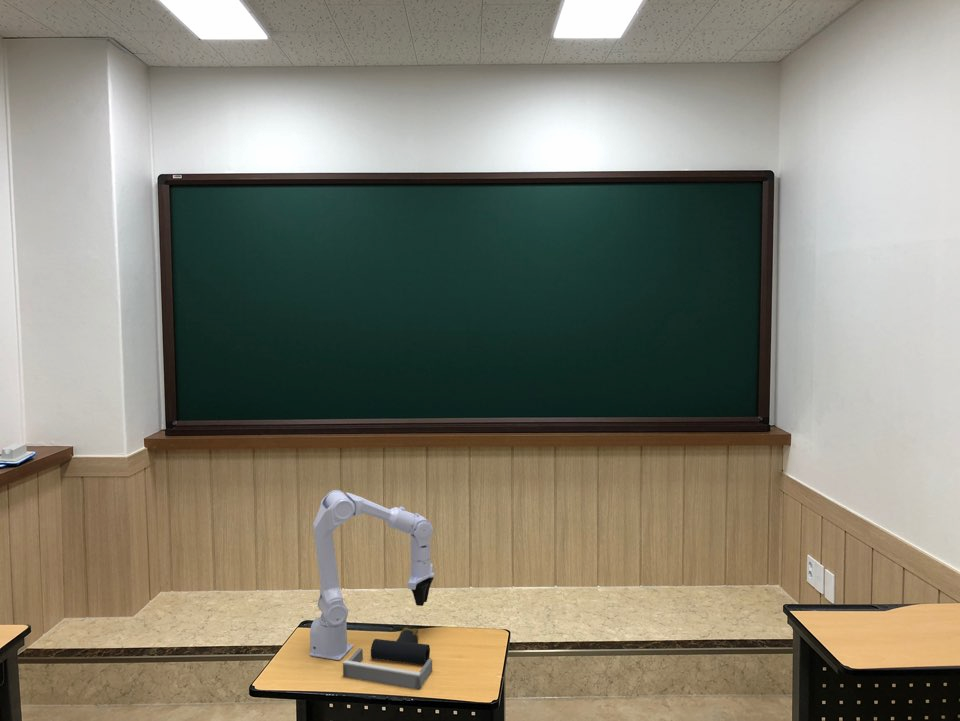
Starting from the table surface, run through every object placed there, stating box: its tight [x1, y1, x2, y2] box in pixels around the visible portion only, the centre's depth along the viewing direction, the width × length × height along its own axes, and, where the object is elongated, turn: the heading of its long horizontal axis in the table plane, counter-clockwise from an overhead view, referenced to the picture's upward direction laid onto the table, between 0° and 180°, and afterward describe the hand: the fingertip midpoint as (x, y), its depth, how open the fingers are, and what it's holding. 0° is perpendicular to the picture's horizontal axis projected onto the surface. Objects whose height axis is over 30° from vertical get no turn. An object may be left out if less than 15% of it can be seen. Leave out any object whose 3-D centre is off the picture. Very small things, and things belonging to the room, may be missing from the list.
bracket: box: [342, 647, 433, 690], centre depth 173 cm, size 21×9×4 cm, turn 73°
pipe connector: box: [370, 627, 431, 666], centre depth 183 cm, size 12×5×15 cm
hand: (421, 603), depth 194 cm, fingers closed
